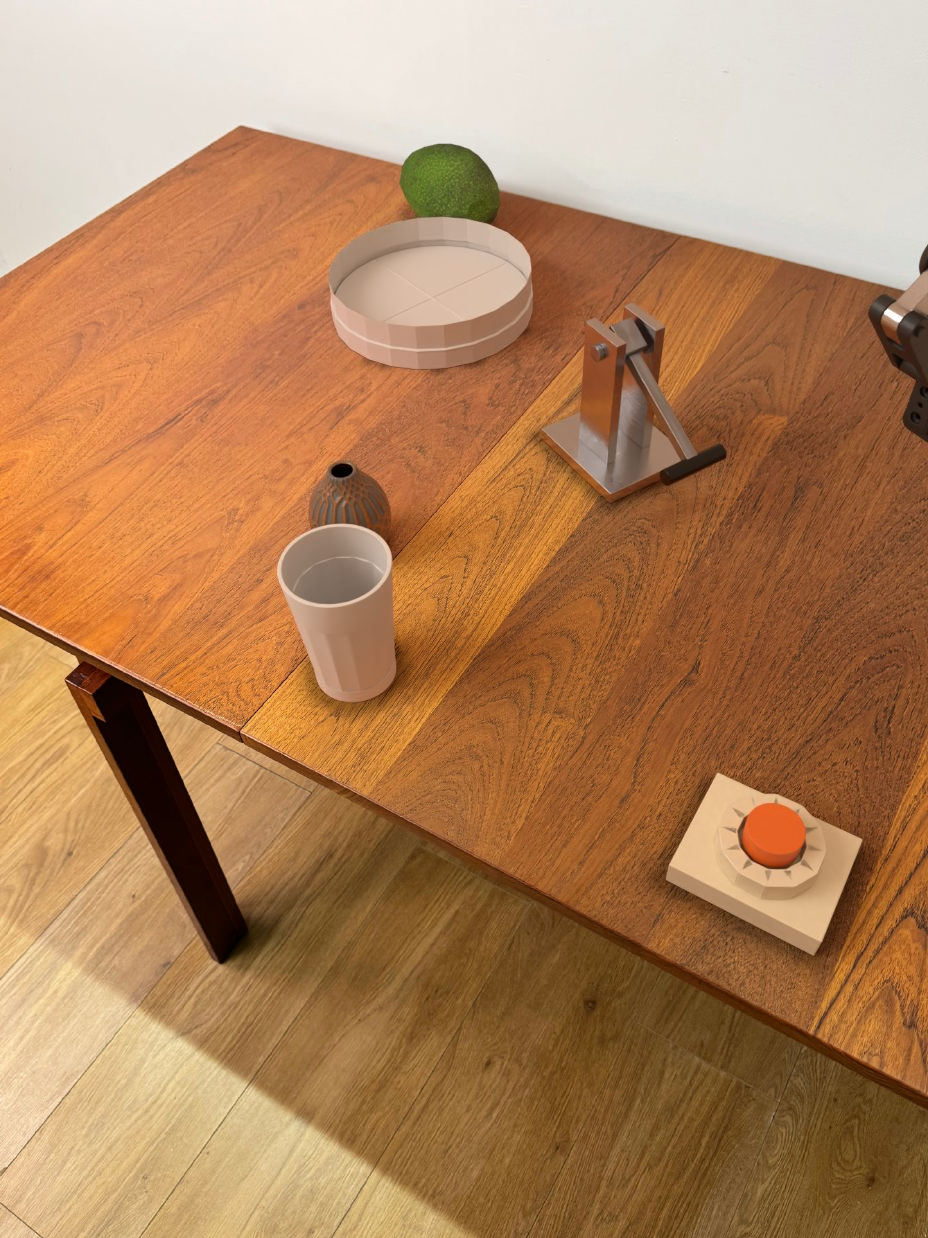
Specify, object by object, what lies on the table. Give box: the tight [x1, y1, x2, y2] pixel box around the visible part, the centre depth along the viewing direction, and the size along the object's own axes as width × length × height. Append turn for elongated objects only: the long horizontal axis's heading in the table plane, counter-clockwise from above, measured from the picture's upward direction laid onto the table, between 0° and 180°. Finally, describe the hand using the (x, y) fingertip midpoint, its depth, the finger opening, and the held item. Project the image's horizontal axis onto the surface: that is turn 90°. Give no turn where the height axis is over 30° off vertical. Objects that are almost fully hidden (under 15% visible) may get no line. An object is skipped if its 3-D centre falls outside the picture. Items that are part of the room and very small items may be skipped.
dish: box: [327, 217, 534, 370], centre depth 108 cm, size 22×22×5 cm
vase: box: [308, 459, 392, 543], centre depth 83 cm, size 7×7×9 cm
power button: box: [742, 803, 806, 867], centre depth 62 cm, size 4×4×2 cm
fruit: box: [399, 143, 501, 225], centre depth 118 cm, size 15×10×10 cm, turn 31°
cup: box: [276, 524, 397, 703], centre depth 73 cm, size 8×8×12 cm
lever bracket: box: [540, 302, 681, 504], centre depth 88 cm, size 11×9×14 cm
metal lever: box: [608, 317, 728, 487], centre depth 84 cm, size 14×6×2 cm, turn 31°
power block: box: [665, 772, 863, 956], centre depth 64 cm, size 10×8×4 cm
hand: (926, 429), depth 53 cm, fingers closed
